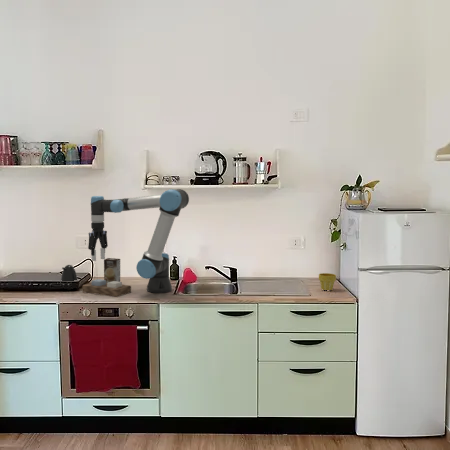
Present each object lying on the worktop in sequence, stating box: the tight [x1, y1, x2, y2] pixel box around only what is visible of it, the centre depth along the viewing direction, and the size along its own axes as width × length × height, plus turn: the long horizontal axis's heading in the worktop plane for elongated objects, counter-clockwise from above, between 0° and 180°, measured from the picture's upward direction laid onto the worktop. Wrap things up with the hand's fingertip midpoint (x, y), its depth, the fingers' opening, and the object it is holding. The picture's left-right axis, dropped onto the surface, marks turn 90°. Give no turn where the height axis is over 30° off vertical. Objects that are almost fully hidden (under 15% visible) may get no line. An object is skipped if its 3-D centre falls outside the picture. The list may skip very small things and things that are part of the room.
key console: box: [82, 282, 132, 298], centre depth 308 cm, size 26×13×4 cm, turn 63°
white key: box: [107, 281, 123, 288], centre depth 305 cm, size 6×6×3 cm
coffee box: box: [103, 257, 121, 283], centre depth 332 cm, size 9×6×16 cm
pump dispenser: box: [60, 264, 78, 281], centre depth 314 cm, size 10×10×15 cm
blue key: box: [91, 278, 106, 286], centre depth 310 cm, size 6×6×3 cm
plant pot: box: [318, 272, 337, 291], centre depth 317 cm, size 10×10×10 cm
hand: (98, 259), depth 309 cm, fingers open, 7 cm apart
